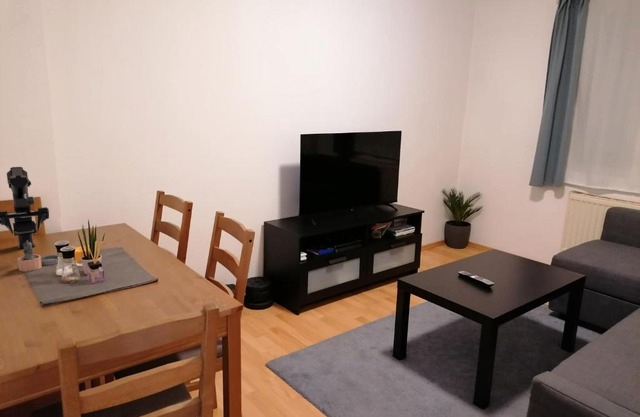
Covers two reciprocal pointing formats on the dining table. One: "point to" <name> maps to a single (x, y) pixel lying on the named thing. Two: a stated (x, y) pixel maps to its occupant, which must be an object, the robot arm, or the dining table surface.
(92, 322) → the dining table surface
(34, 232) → the robot arm
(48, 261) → the charcoal tray
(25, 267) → the pink ribbed bowl
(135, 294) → the dining table surface
